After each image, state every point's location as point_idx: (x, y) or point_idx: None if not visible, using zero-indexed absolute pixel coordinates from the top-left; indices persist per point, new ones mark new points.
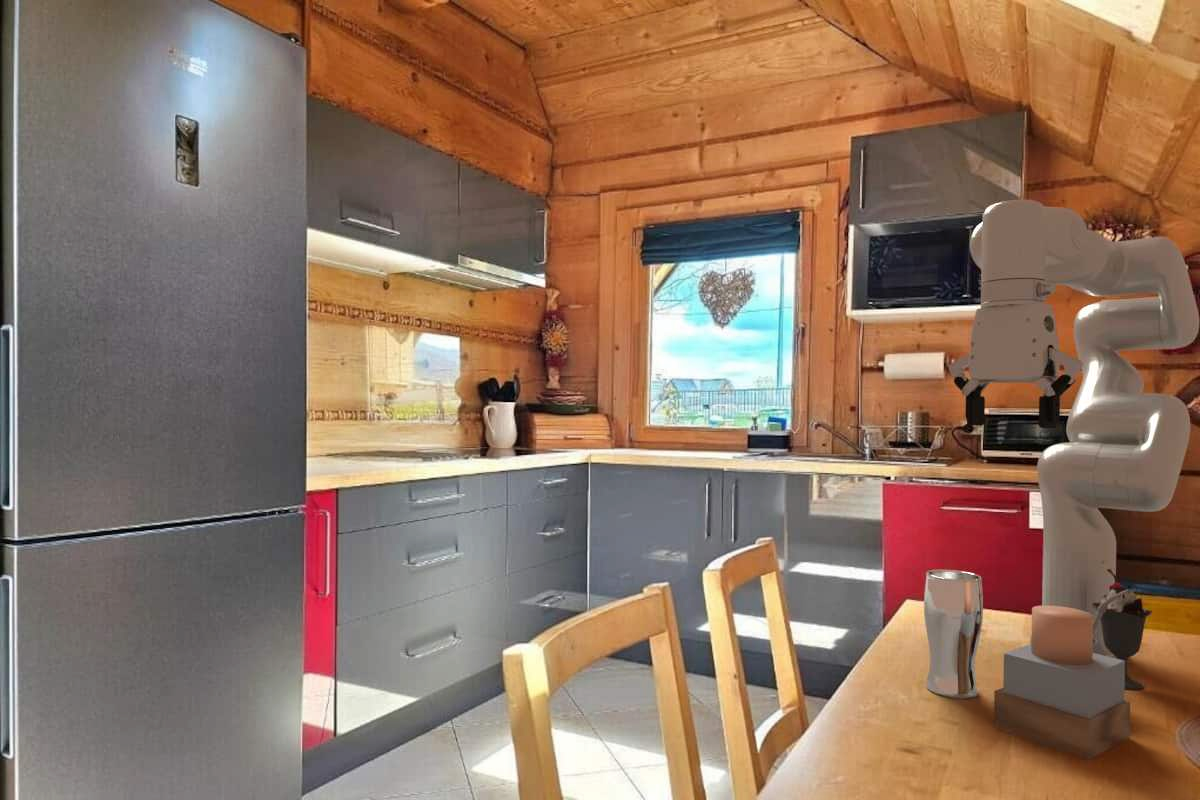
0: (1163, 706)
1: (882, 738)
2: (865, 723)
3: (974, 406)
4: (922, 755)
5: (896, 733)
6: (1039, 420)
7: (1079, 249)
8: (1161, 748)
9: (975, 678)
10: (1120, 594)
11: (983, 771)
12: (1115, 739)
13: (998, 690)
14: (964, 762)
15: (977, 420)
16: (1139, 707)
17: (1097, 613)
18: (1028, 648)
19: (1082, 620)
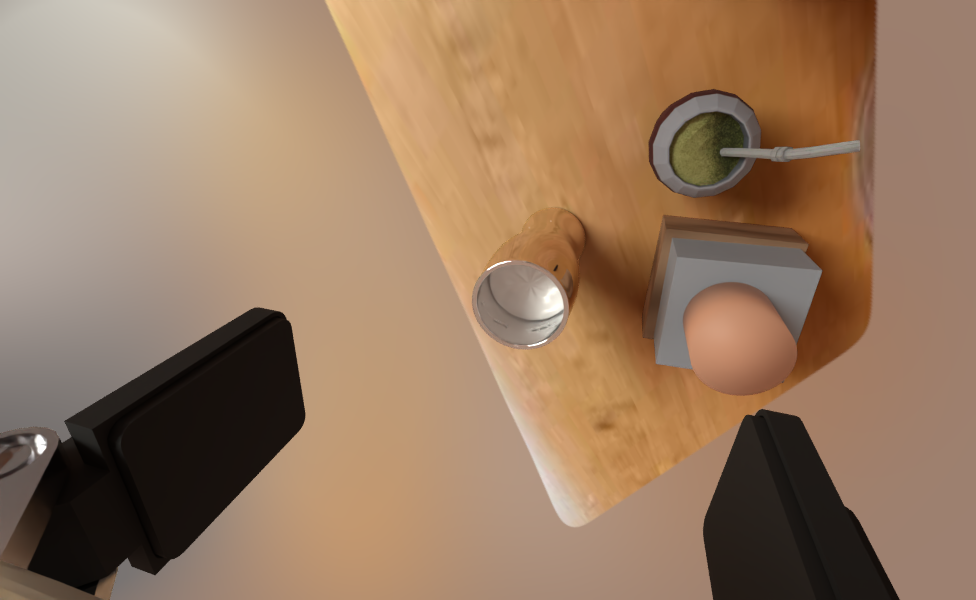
0: (829, 22)
1: (573, 417)
2: (542, 398)
3: (223, 488)
4: (618, 427)
5: (576, 400)
6: (712, 563)
7: None
8: (834, 231)
9: (578, 236)
10: (835, 154)
11: (675, 424)
12: None
13: (645, 332)
14: (654, 417)
15: (285, 396)
16: (790, 70)
17: (767, 158)
18: (675, 316)
19: (782, 378)
